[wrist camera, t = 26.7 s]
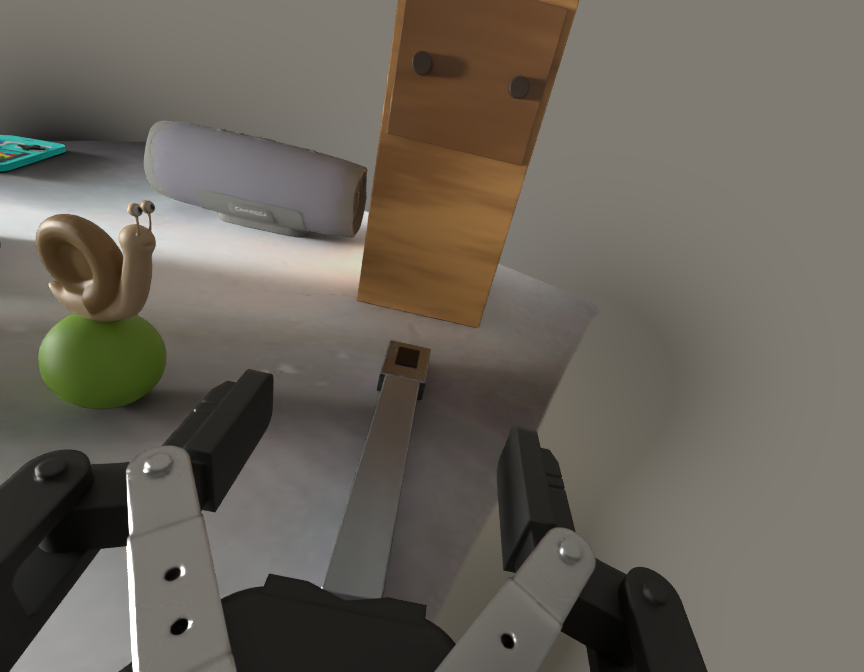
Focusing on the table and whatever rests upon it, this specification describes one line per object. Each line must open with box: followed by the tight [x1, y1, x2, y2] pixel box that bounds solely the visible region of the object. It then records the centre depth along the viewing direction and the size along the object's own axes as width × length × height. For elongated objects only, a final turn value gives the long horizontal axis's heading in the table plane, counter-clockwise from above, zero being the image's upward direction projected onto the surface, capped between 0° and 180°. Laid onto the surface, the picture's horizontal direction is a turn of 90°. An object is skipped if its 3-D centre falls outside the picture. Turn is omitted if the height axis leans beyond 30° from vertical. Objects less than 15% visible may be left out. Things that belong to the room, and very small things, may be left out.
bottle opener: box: [321, 340, 431, 600], centre depth 25 cm, size 19×3×2 cm, turn 175°
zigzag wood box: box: [357, 0, 579, 328], centre depth 38 cm, size 17×12×34 cm
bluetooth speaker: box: [144, 121, 367, 237], centre depth 50 cm, size 23×9×10 cm, turn 87°
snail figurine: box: [36, 201, 166, 409], centre depth 21 cm, size 5×6×12 cm
